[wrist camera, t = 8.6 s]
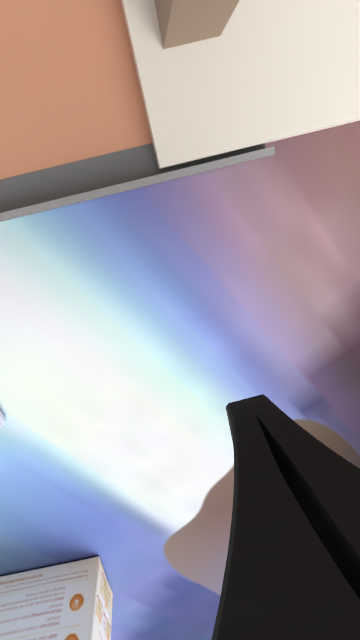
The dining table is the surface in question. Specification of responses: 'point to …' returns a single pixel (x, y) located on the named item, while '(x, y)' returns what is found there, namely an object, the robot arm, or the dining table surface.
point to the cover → (242, 71)
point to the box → (76, 109)
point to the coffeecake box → (57, 603)
